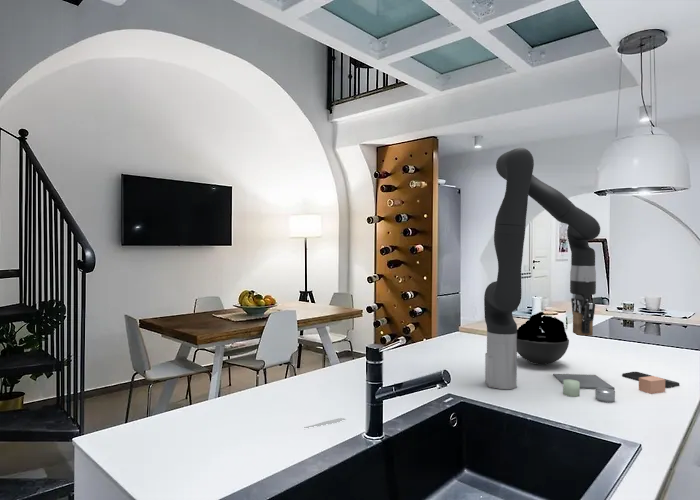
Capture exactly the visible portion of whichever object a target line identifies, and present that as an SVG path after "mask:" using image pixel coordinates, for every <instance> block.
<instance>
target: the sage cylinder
mask: <svg viewBox="0 0 700 500" xmlns="http://www.w3.org/2000/svg"><path fill="white" fill-rule="evenodd" d="M562 386H563V389H562V390H563V392H562V393H563V396H566V397H570V398H578V397H580V390H581V389H580V382H579V381H576V380H571V379H566V380H563V384H562Z"/></svg>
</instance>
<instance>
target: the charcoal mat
mask: <svg viewBox="0 0 700 500" xmlns="http://www.w3.org/2000/svg"><path fill="white" fill-rule="evenodd" d="M552 376H553V377H554V378H555V379H556V380H557V381H559V382H560V383H561V384H562V385H563V380H566V379H571V380H576V381H579V382H580V389H579V390H581V389H582V390H595V389H596V388H599V387H602V388H609V389H612V390H614V391H615V387H614V386H613V385H612V384H610V383H608V382H607V381H605V380H604V379H602V378H601V377H599V376H597V375H596V374H582V373H581V374H580V373H579V374H578V373H577V374H576V373H552Z"/></svg>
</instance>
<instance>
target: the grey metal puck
mask: <svg viewBox="0 0 700 500" xmlns="http://www.w3.org/2000/svg"><path fill="white" fill-rule="evenodd" d="M594 391H595V394H594V395H595V397H594V398H595V400H596V401H598V402H600V403H604V404H605V403H606V404H613V403H615V402H616V391H615V389H614V390H612V389H609V388H602V387H599V388H596V389H594Z"/></svg>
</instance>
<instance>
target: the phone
mask: <svg viewBox="0 0 700 500" xmlns="http://www.w3.org/2000/svg"><path fill="white" fill-rule="evenodd" d="M621 376H622V377H623V378H626V379H630V380H632V381H637V382H639V378H640V377H648V376H652V375H651V374H647V373H643V372H639V371H631V372H625V373H624V372H623V373H621ZM661 378H662V377H661ZM662 379H665V389H672V388H676V387H680V382H677V381H675V380H674V381H673V380H670V379H666V378H662Z"/></svg>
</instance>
